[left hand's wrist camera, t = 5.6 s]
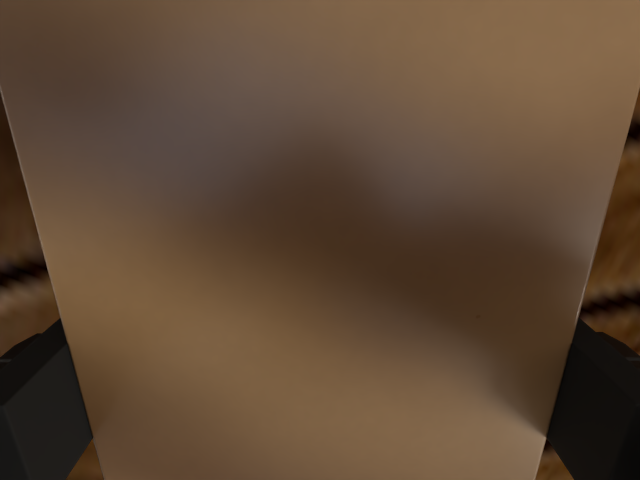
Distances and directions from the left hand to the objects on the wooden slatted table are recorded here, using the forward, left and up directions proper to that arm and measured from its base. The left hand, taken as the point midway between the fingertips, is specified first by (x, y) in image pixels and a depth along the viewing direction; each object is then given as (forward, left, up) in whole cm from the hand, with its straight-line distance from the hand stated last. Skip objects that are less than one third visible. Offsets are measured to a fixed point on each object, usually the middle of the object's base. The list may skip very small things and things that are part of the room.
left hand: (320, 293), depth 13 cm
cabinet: (+1, +5, -5) cm, 7 cm away
